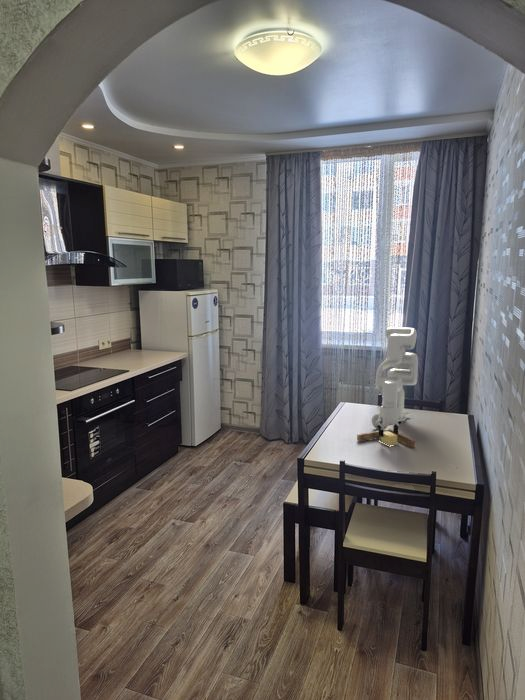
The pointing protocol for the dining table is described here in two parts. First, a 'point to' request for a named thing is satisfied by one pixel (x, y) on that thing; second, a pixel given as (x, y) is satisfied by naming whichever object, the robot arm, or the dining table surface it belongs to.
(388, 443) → the bar block
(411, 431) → the dining table surface
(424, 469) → the dining table surface
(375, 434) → the tan wooden angled piece
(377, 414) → the donut
